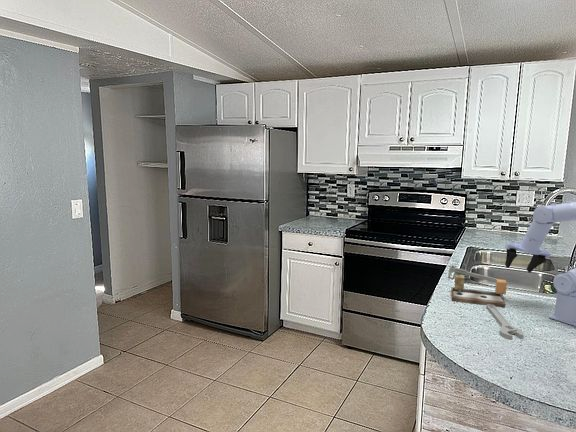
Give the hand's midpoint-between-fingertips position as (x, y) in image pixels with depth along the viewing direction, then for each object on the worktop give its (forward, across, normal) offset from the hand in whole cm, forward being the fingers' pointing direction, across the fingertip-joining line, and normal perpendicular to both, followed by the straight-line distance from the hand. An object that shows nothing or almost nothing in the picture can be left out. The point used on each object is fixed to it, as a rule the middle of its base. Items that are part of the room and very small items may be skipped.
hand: (517, 268), depth 146 cm
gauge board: (+13, +11, +5) cm, 18 cm away
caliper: (+20, +4, -16) cm, 26 cm away
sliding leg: (+9, +3, +5) cm, 11 cm away
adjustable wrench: (+7, +9, +25) cm, 27 cm away
